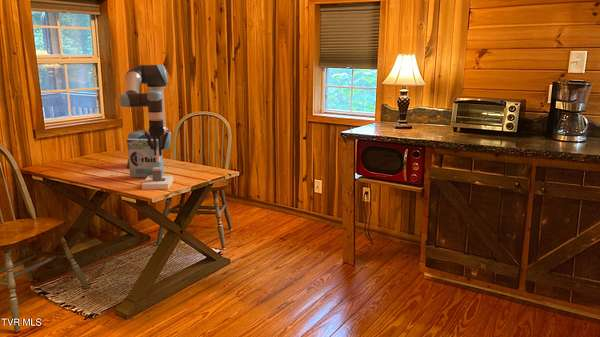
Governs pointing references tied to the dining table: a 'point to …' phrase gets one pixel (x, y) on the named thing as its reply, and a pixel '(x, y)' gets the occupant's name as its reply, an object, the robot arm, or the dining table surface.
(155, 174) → the plug
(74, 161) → the dining table surface
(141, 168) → the gum box
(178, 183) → the dining table surface
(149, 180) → the socket
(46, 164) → the dining table surface
